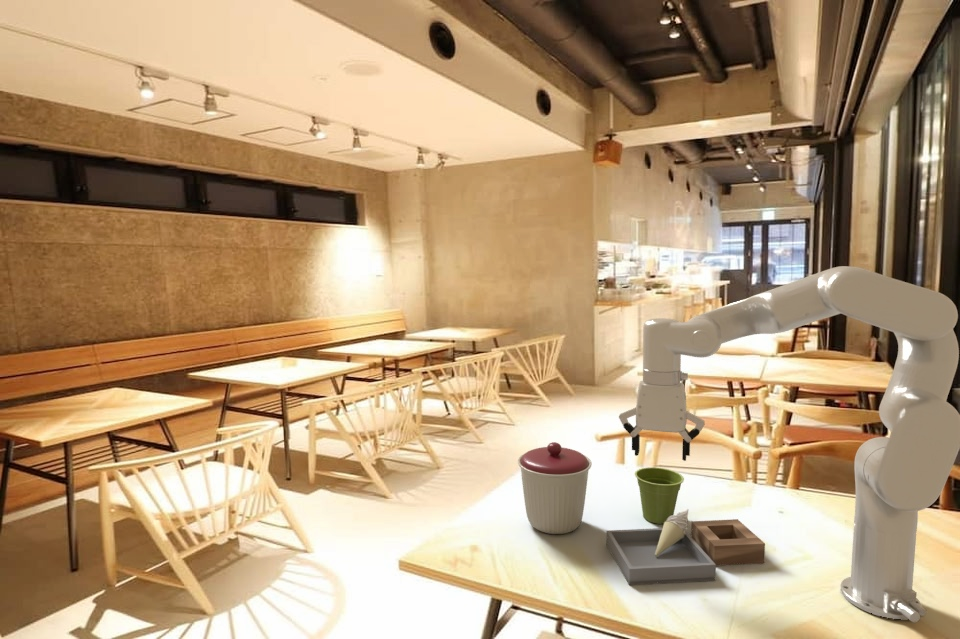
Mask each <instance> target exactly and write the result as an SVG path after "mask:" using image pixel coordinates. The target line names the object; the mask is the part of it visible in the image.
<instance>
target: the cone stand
mask: <svg viewBox="0 0 960 639" xmlns="http://www.w3.org/2000/svg"><path fill="white" fill-rule="evenodd" d="M690 523H691V524H690V525H691V527H690V536H691V537H692V538H693V540H694V541H695V542H696V543H697V544H698V545H699V546H700V547H701V549H702V550H703V551H704V552H705V553H706V554H707V555H708V556H709V558H710V559H711V560H712V561H713V562H714V563H715V564H716V567H718V566H734V565H736V566H738V565H755V564H765V553H766V552H765V551H766V543H765V542H764V541H763V540H762V539H761V538H759V537H758V535H756V534H755V533H754V532H753V531H752V530H750V529H749V528H748V527H747V526H746V525H745V524H744V523H742V522H741V521H740V520H739V518H738V519H737V518H736V519H734V518H733V519H717V520H716V519H715V520H713V519H712V520H695V521H694V520H693V521H692V520H691V522H690Z"/></svg>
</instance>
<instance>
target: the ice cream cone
mask: <svg viewBox="0 0 960 639" xmlns="http://www.w3.org/2000/svg"><path fill="white" fill-rule="evenodd" d="M688 514H689V509H688V508H687V509H686V510H683V511H681V512H678V513H677V514H675V515H672V516H670V517H668V518H667V520H666V521H665V522H664V523H663V526H662V528H663V529H662V532H661V535H660V539H659V542H658V546H657V549H656V552H655V556H656V557H657V556H658V555H659V554H661V553H662V552H664V551H665V550H666V549H668V548H669V547H671V546H672V545H673V544H675V543H676V542H677V541H679V540H680V539H682V538H684V535H685V534H686V532H687V531H688V530H689V529H688V528H687V526H688V524H687V522H688V521H689V518H688ZM685 531H686V532H685Z"/></svg>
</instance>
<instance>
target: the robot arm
mask: <svg viewBox="0 0 960 639" xmlns="http://www.w3.org/2000/svg"><path fill="white" fill-rule="evenodd" d="M840 314H842V315H844V316H846V317H849V318H852V319H854V320H858V322H860V321H861V322H863V323H865V324H868V325H872V326H873V327H874V326H875V327H878V328H880V329H883V330H885V331H886V330H887V331H889V332H892V333H893V334H894V336H895V338H896V340H897V345H898V348H897V350H898V351H897V357H896V360H895V364H894V367H893V371H892V373H891V376H890V379H889V381H888V384H887V386H886V389H885V392H884V394H883V397H882V399H881V401H880V404H879V407H878V416H879V418H880V421H881V422H882V424H883V425H884V426H885V428H887V430H889V431H890V434H889V437H887V436H886V437H885V436H877V437H873V438H870V439H868V440H866V441H865V442H863V443H862V444H861V445H860V446H859V447H858V449H857V451H856V453H855V457H854V463H853V464H854V467H853V468H854V481H855V482H854V483H855V500H854V501H855V505H854V516H853V517H854V518H853V531H852V532H853V533H852V534H853V535H852V551H851V565H850V567H851V568H850V576H849V577H846V578H844V579H843V580H841V583H840V592H841V594H842V595H843V597H844V599H846V600H847V601H848V602H849V603H851V605H853V606H855V607H856V608H859V609H861V610H862V611H865V612H867V613H868V614H871V613H872V614H871V615H874V616H877V617H880V616H882V617H881V618H883V617H888V618H894V619H901V620H900V621H910V622H911V623H918V622H919V620H920V619H921V617H924V616H925V615H926V614H927V610H926V609H925V608H924V607H923V606H922V604H921V601H920V600H919V599H918V598H917V595H918V594H917V591H916V590H914V589H913V585H914V584H913V582H914V573H915V572H914V567H915V560H916V559H915V555H916V546H917V545H916V542H917V531H918V523H919V522H918V521H919V520H918V519H919V518H918V517H919V515H918V514H919V513H918V512H919V511H922V510H925V509H927V508H929V507H930V506H931V505H933V504H934V503H935V502H936V501H937V499H939V497H940V495H941V493H942V492H943V491H944V488H945V485H946V483H947V481H948V478H949V476H950V474H951V471H952V469H953V466H954V463H955V461H956V459H957V456H958V453H959V451H960V413H959V412H958V410H957V409H956V408H955V406H953V405H952V404H951V403H949V402H948V400H947V399H948V395H949V393H950V390H951V388H952V385H953V381H954V378H955V375H956V372H957V369H958V364H959V360H960V359H959V358H960V355H959V354H960V350H959V349H960V348H959V342H958V339H957V336H956V333H955V331H954V328H955V326H956V325H957V323H958V319H959V314H958V309H957V306H956V304H955V303H954V302H953V301H952V299H951V298H949V297H948V296H947V295H945V294H943V293H941V292H939V291H936V290H933V289H929V288H926V287H922V286H919V285H916V284H914V283H913V284H912V283H910V282H907V281H906V282H905V281H903V280H900V279H896V278H893V277H889V276H886V275H883V274H881V273H878V272H876V271H872V270H868V269H866V268H862V267H858V266H849V265H848V266H846V265H845V266H843V265H841V266H836V267H831V268H828V269H825V270H823V271H820V272H817V273H813V274H811V275H808V276H806V277H803V278H801V279H797V280H794V281H792V282H788V283H786V284H783V285H781V286H777V287H775V288H773V289H769V290H766V291H762V292H760V293H757V294H754V295H752V296H750V297H747V298H744V299H741V300H738V301H735V302H731V303H729V304H726V305H723V306H720V307H717V308H714V309H711V310H710V311H706V312H703V313H701V314H698V315H696V316H694V317H691V318H689V320H687V321H682V322H681V321H678V320H677V319H673V318H665V317H664V318H662V317H661V318H649V319H647V320H645V322H644V323H643V326H642V327H643V329H642V331H643V333H642V339H643V341H642V342H643V343H642V380H641V381H640V382H639V384H638V389H637V397H636V407H634V408H631V409H629V410H626V411H624V412H622V413H619V415H618V419H619V421H620V423H621V424H622V426H623V429H625V431H626V432H627V433H628V434H629V435H630V437H631V451H634V456H637V457H638V456H639V454H640V450H641V449H640V444H641V443H640V442H641V441H640V440H641V438H640V437H641V436H640V432H641V431H643V430H644V431H650V432H651V431H653V432H654V431H655V432H662V433H663V432H664V433H678V434H679V435H680V436H681V438H682V454H681V455H682V456H681V457H682V460H683V461H684V462H685V461H686V462H687V456H688V457H690V456H691V455H690V454H691V452H690V451H691V450H690V449H691V442H692V441H693V440H694V439H695V438H696V437H697V436H699V435H700V433H701V431H702V430H703V428H704V426H705V424H706V423H705V420H704V419H702V418H701V417H698V416H696V415H695V414H693V413H692V412H690V411H688V408H687V395H686V389H685V385H684V383H682V381H684V380H686V381H687V380H688V378H689V377H688V376H689V374H688V373H687V372H684V371H681V368H682V367H681V362H682V361H681V357H682V356H681V355H683V356H688V357H694V358H710V357H711V356H713V355H715V354H716V353H717V352H718V351H719V350H720V348H721V347H722V346H721V345H723V344H725V343H728V342H732V341H734V340H737V339H741V338H744V337H749V336H753V335H762V334H763V335H766V334H767V335H773V334H774V335H775V334H781V333H786V332H789V331H792V330H794V329H797V328H800V327H802V326H805V325H809V324H811V323H815V322H818V321H821V320H824V319H828V318H831V317H834V316H837V315H840ZM634 416H635V426H633V425H632V424H631V423H630V422H629V421H628V419H629V418H631V417H634ZM687 421H690V422H691V423H694V424H695V426H694V428H692V429H691V430H690V431H689V430H688V429H687V426H686V425H687ZM888 618H887V619H888ZM894 619H893V620H894ZM908 619H909V620H908Z"/></svg>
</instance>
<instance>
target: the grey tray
mask: <svg viewBox="0 0 960 639" xmlns="http://www.w3.org/2000/svg"><path fill="white" fill-rule="evenodd" d="M662 529H663V527H656V528H655V527H654V528H637V529H635V528H634V529H633V528H632V529H613V530H606V535H605V536H606V540H605V541H606V547H607V549H608V550H609V552H610V554H611V555H612V557H613V558H612V559H614V562H615V563H616V564H617V566H618V568H619V571H621V574H622V575H623V577H624V579H625V580H626V582H627V584H628V585H629V586H641V585H642V586H643V585H658V584H659V585H660V584H678V583H679V584H681V583H697V582H699V583H700V582H716V568H717V566H716V564H715V563H714V562H713V561H712V560H711V559H710V558H709V556H708V555H707V554H706V553H705V552H704V551H703V550H702V549H701V547H700V546H699V545H698V544H697V543H696V542H695V541H694V540H693V538H692V537H691V534H689V532H687V530H685V532H686V534H685V535H684V538H682V539H680V540H679V541H677V542H676V543H675V544H673V545H672V546H671V547H669V548H668V549H666V550H665V551H664V552H662V553H661V554H659V555H658V556H657V557H656V556H655V552H656V549H657V546H658V542H659V539H660V535H661V532H662Z"/></svg>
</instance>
